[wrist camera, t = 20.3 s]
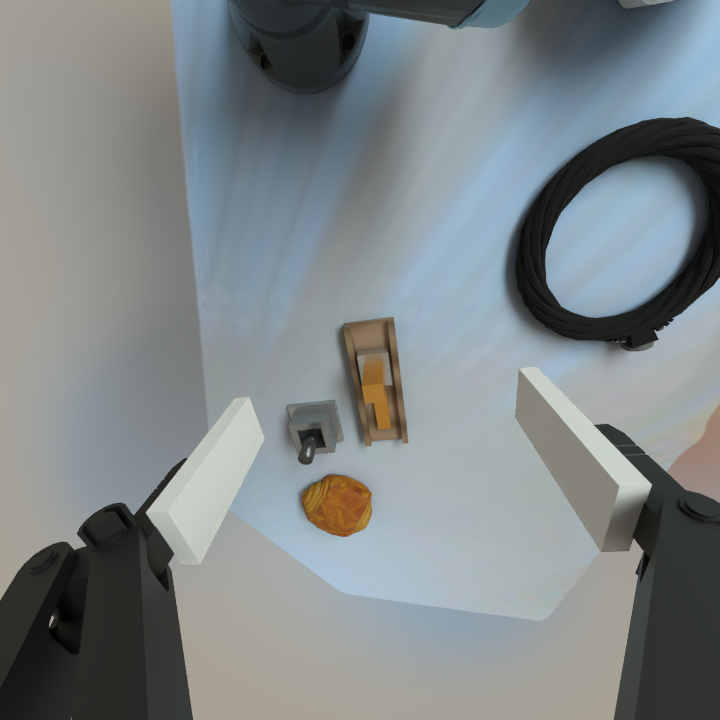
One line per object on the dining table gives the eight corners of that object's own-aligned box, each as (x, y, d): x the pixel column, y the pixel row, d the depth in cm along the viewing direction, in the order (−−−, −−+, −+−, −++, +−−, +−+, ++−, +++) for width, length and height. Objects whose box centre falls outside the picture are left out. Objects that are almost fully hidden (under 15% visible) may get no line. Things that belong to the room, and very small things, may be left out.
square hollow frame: (294, 411, 57) (288, 425, 54) (330, 408, 57) (326, 421, 53) (302, 440, 60) (297, 455, 57) (337, 437, 60) (334, 452, 56)
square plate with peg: (288, 404, 58) (271, 440, 49) (335, 399, 57) (326, 435, 48) (300, 441, 62) (286, 480, 53) (343, 437, 61) (337, 477, 52)
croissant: (350, 517, 75) (350, 552, 68) (294, 495, 69) (288, 531, 63) (387, 486, 69) (391, 521, 62) (329, 460, 63) (327, 495, 57)
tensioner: (357, 350, 51) (353, 377, 43) (387, 347, 50) (388, 373, 42) (371, 427, 58) (369, 463, 50) (398, 425, 57) (400, 460, 49)
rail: (344, 323, 50) (343, 328, 48) (393, 316, 49) (393, 321, 47) (366, 437, 60) (365, 446, 58) (407, 434, 59) (408, 443, 57)
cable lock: (773, 53, 31) (761, 313, 42) (734, 68, 34) (732, 305, 45) (497, 191, 38) (548, 384, 49) (487, 193, 41) (537, 372, 52)
